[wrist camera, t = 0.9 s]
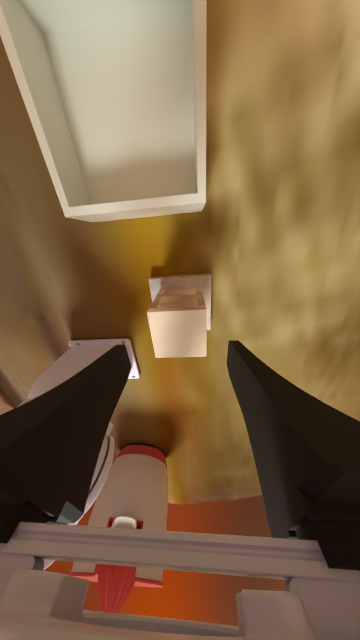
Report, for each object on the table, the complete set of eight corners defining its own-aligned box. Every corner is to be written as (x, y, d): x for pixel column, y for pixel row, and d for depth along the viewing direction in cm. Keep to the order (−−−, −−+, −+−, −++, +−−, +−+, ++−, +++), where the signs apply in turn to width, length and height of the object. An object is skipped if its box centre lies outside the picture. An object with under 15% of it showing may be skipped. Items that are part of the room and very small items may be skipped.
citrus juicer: (177, 439, 35) (166, 637, 18) (169, 469, 44) (156, 625, 26) (110, 430, 35) (32, 624, 17) (115, 462, 43) (64, 616, 25)
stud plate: (158, 327, 21) (148, 357, 16) (150, 276, 18) (134, 292, 12) (209, 325, 21) (216, 355, 15) (209, 272, 17) (219, 287, 12)
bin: (93, 222, 16) (65, 217, 12) (37, 31, 10) (-40, -77, 7) (201, 211, 15) (206, 202, 11) (199, -3, 10) (206, -146, 6)
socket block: (165, 323, 19) (155, 357, 14) (160, 288, 17) (146, 312, 12) (200, 322, 19) (206, 356, 13) (200, 286, 17) (206, 309, 11)
